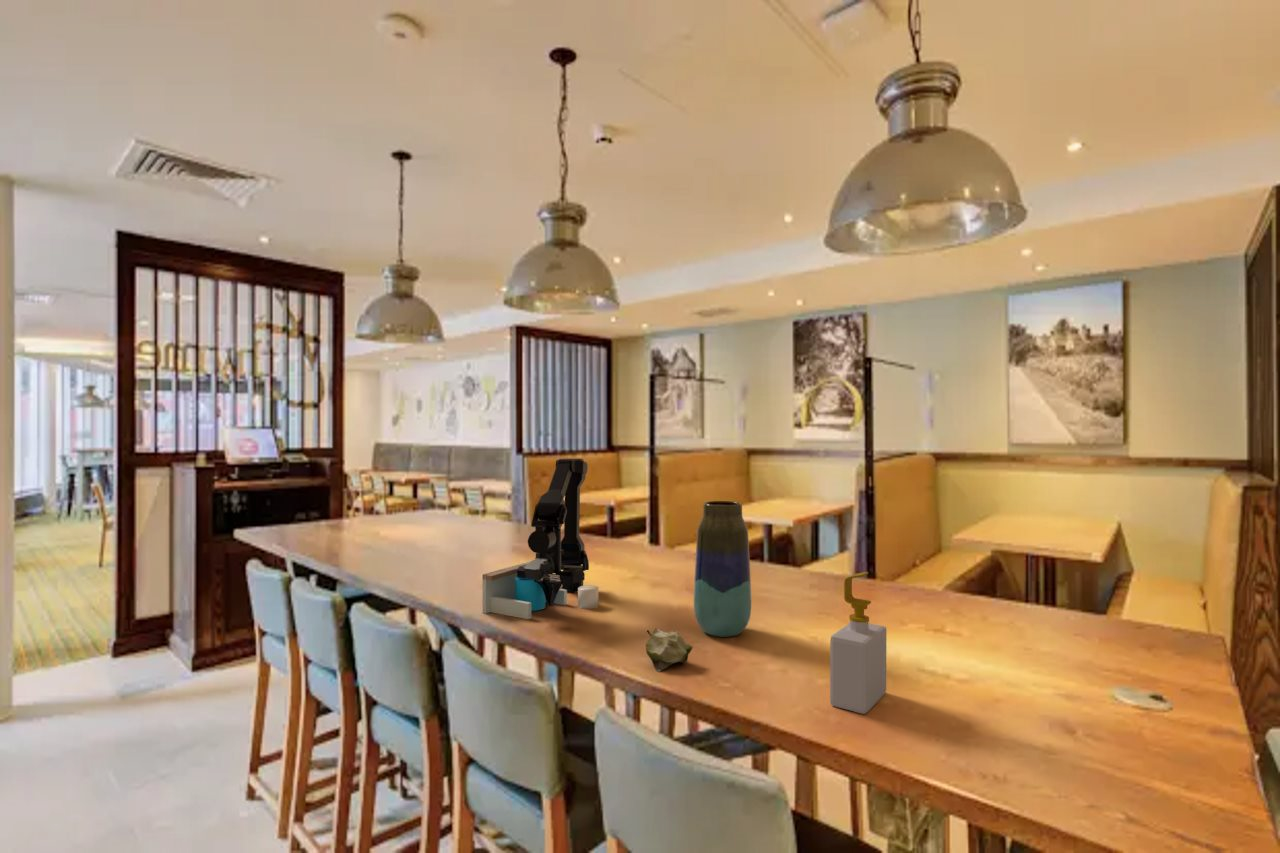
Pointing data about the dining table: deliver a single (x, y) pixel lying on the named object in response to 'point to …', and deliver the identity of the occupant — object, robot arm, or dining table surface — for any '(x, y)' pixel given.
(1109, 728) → the dining table surface
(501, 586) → the counter bay
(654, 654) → the fruit
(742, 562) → the vase
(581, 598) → the cream rounded cylinder
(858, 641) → the soap bottle
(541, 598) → the mug
